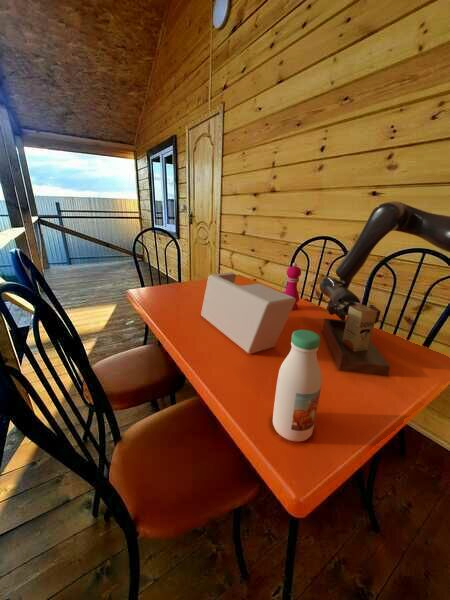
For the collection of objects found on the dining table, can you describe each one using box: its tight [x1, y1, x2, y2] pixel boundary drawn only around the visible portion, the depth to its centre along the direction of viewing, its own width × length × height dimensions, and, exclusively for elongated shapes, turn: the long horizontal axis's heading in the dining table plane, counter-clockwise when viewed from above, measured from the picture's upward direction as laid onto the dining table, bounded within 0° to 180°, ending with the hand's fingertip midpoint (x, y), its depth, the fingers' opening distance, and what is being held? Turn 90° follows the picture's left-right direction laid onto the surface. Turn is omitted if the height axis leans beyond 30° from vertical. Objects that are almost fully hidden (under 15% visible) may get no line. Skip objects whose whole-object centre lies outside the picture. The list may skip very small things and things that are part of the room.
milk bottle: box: [272, 329, 323, 442], centre depth 46 cm, size 8×8×20 cm
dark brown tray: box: [322, 318, 391, 377], centre depth 78 cm, size 12×24×5 cm, turn 170°
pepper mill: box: [283, 262, 302, 311], centre depth 109 cm, size 7×7×20 cm
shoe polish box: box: [342, 304, 377, 351], centre depth 73 cm, size 5×5×12 cm
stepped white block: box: [200, 272, 296, 355], centre depth 84 cm, size 30×10×30 cm, turn 30°
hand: (359, 319), depth 72 cm, fingers open, 8 cm apart
